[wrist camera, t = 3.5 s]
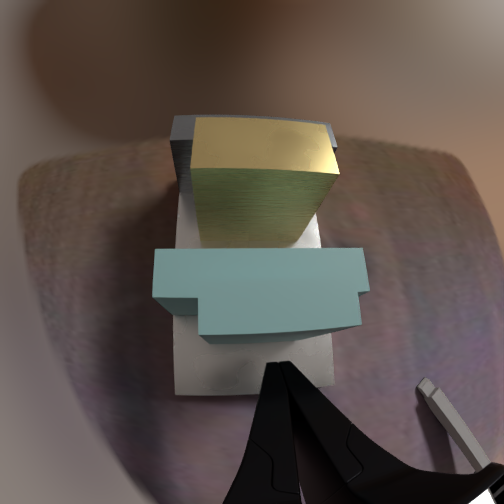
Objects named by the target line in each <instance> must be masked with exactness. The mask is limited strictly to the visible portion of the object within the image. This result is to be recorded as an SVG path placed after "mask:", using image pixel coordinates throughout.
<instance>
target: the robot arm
mask: <svg viewBox="0 0 504 504" xmlns="http://www.w3.org/2000/svg"><path fill="white" fill-rule="evenodd" d="M351 423H352V422H351V421H350V420H349V419H348V418H347V417H346V416H345V415H344V414H343V413H342V412H341V411H340V410H339V409H337V408H336V407H335V406H334V405H333V404H332V403H331V402H330V401H329V400H328V399H327V398H326V397H325V396H324V395H323V394H322V393H321V392H320V391H319V390H318V389H317V388H316V387H315V386H314V385H313V384H312V383H311V382H310V380H309V379H308V378H307V377H306V376H305V375H304V374H303V373H302V372H301V371H300V370H299V369H298V368H297V367H296V366H295V365H294V364H293V363H292V362H291V361H280V362H267V363H266V366H265V370H264V375H263V379H262V384H261V388H260V393H259V397H258V401H257V405H256V410H255V414H254V418H253V422H252V426H251V430H250V434H249V439H248V442H247V446H246V450H245V453H244V456H243V459H242V462H241V465H240V467H239V470H238V472H237V474H236V477H235V479H234V481H233V483H232V485H231V487H230V489H229V491H228V493H227V495H226V497H225V499H224V501H223V503H222V504H302V502H301V495H300V486H301V489H302V492H303V496H304V499H305V502H306V504H504V465H502V464H499V463H493V462H491V463H489V464H488V465H487V466H485V467H484V468H483V469H481V470H480V471H479V472H477V473H474V474H449V473H439V472H431V471H423V470H419V469H415V468H413V467H410V466H408V465H407V464H405V463H403V462H402V461H400V460H399V459H397V458H396V457H394V456H393V455H392V454H390V453H389V452H387V451H386V450H384V449H383V448H381V447H380V446H379V445H377V444H376V443H375V442H373V441H372V440H371V439H370V438H368V437H367V436H366V435H365V434H364V433H363V432H362V431H360V430H359V429H358V428H357V427H356V426H355V425H354V424H351ZM299 482H300V485H299Z"/></svg>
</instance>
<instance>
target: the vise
mask: <svg viewBox="0 0 504 504" xmlns="http://www.w3.org/2000/svg"><path fill="white" fill-rule="evenodd" d="M196 117H234V118H259V119H274V120H286V121H297V122H306V123H314V124H322V125H325V126H326V129H327V132H328V135H329V139H330V142H331V145H332V149H333V152H334V153H335V151H336V149H337V144H336V141H335V138H334V135H333V131H332V128H331V126H330V124H329V123H324V122H317V121H308V120H300V119H290V118H279V117H265V116H246V115H183V116H174V121H173V126H172V131H171V136H170V145H171V150H172V156H173V161H174V167H175V172H176V177H177V182H178V187H179V192H180V194H179V204H178V216H177V230H176V245H175V249H219V248H321V244H320V237H319V230H318V224H317V218H316V213H315V215H314V216H313V218H312V219H311V221H310V222H309V224H308V226H307V227H306V229H305V230H304V232H303V233H302V235H301V237H300V238H299V240H298V241H200V236H199V229H198V223H197V216H196V209H195V201H194V194H193V186H192V179H191V170H190V166H191V156H192V146H193V138H194V129H195V121H196ZM173 353H174V382H175V395H201V396H213V395H246V394H259V393H260V388H261V384H262V379H263V375H264V370H265V366H266V363H267V362H280V361H291V362H292V363H293V364H294V365H295V366H296V367H297V368H298V369H299V370H300V371H301V372H302V373H303V374H304V375H305V376H306V377H307V378H308V379H309V380H310V382H311V383H312V384H313V385H314V386H315V387H316V388H317V387H324V386H330V385H334V367H333V352H332V339H331V333H328V334H324V335H320V336H316V337H312V338H307V339H303V340H295V341H281V342H265V343H242V344H208V343H207V342H206V341H205V340H204V339H203V338H202V337H200V336H199V335H198V315H173Z"/></svg>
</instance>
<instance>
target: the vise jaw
mask: <svg viewBox="0 0 504 504" xmlns="http://www.w3.org/2000/svg"><path fill="white" fill-rule="evenodd" d="M369 291H370V289H369V283H368V276H367V270H366V264H365V259H364V253H363V248H219V249H155V258H154V273H153V292H152V297H153V298H154V299H155V300H156V301H157V302H158V303H159V304H160V305H162V306H163V307H164V308H165V309H166V310H167V311H168V312H170V313H171V314H172V315H198V335H199V336H200V337H202V338H203V339H204V340H205V341H206V342H207V343H208V344H242V343H265V342H281V341H295V340H303V339H307V338H312V337H316V336H320V335H324V334H328V333H332V332H336V331H340V330H344V329H348V328H352V327H355V326H359V325H362V323H361V314H360V306H359V298H358V297H359V296H361V295H363V294H365V293H367V292H369Z"/></svg>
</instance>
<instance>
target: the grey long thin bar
mask: <svg viewBox="0 0 504 504" xmlns="http://www.w3.org/2000/svg"><path fill="white" fill-rule="evenodd" d="M417 388H418V389H419V391H420V392H421V393H422V394H423V396H424V399H425V401H426V403H427V404H428V406H429V408H430V409H431V411H432V412H433V413H434V415H435V416H436V417H437V419H438V420H439V421H440V423H441V424H442V425H443V427H444V428H445V429H446V431H447V432H448V433H449V435H450V436H451V437H452V439H453V440H454V441H455V443H456V444H457V445H458V447H459V448H460V449H461V451H462V452H463V454H464V455H465V456H466V458H467V459H468V461H469V462H470V464H471V465H472V466H473V468H474V469H475V472H474V473H477V472H479V471H480V470H481V469H483V468H484V467H485V466H487V465H488V464H489V463H491V462H490V460H489V459H488V457H487V456H486V454H485V453H484V451H483V449H482V448H481V446H480V445H479V443H478V442H477V440H476V439H475V437H474V436H473V434H472V433H471V431H470V430H469V428H468V427H467V425H466V424H465V423H464V421H463V420H462V418H461V417H460V415H459V414H458V413H457V411H456V410H455V408H454V407H453V406H452V404H451V403H450V402H449V400H448V399H447V397H446V396H445V395H444V393H443V392H442V391H441V389H440V388H435V387H434V386H433V384H432V383H431V382H430V380H429V379H427V378H426V377H424V379H423V380H422V381H421V382H420V383H419V385H418V386H417Z"/></svg>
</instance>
